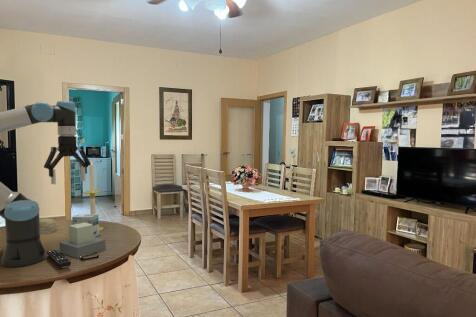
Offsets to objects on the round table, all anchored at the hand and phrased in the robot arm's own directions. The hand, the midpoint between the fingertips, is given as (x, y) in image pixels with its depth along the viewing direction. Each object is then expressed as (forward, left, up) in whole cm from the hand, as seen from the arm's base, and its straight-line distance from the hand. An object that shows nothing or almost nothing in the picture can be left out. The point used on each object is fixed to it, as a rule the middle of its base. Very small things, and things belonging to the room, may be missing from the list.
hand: (68, 182), depth 160 cm
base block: (-2, -14, -29) cm, 33 cm away
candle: (+20, +16, -29) cm, 39 cm away
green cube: (-2, -14, -24) cm, 28 cm away
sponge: (+3, +32, -29) cm, 43 cm away
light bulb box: (+11, +7, -29) cm, 32 cm away
